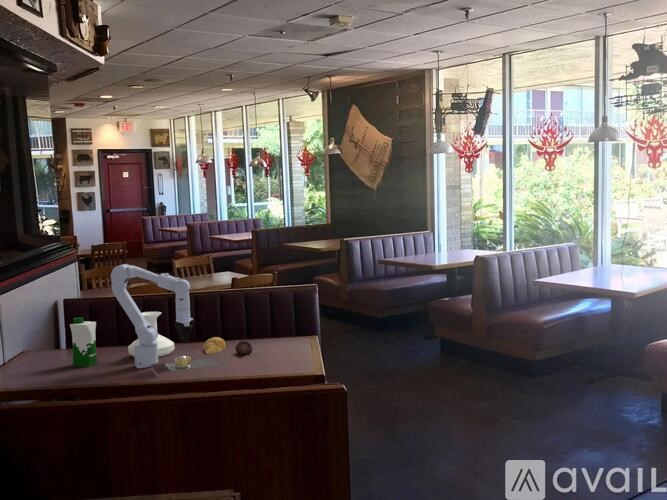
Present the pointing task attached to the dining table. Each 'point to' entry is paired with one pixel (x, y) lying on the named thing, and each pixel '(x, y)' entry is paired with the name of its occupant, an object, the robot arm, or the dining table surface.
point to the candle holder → (162, 342)
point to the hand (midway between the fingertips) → (184, 340)
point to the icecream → (243, 348)
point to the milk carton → (83, 342)
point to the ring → (183, 361)
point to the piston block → (193, 364)
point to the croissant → (214, 345)
